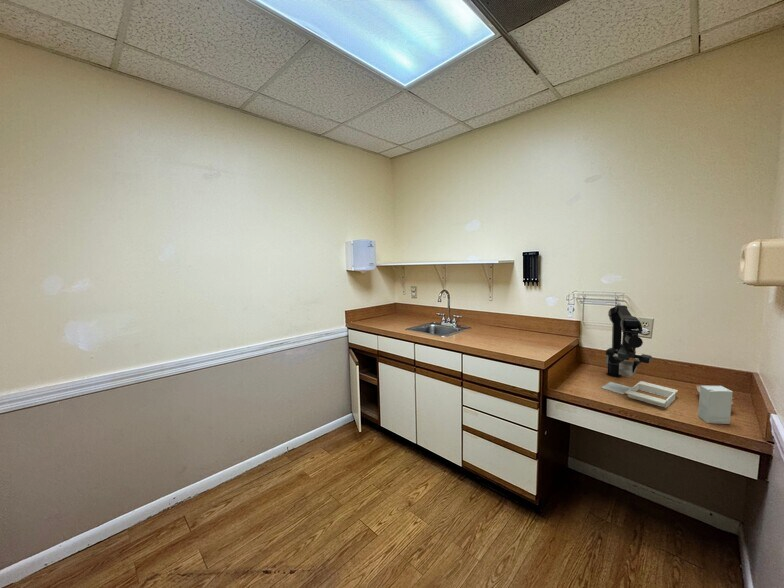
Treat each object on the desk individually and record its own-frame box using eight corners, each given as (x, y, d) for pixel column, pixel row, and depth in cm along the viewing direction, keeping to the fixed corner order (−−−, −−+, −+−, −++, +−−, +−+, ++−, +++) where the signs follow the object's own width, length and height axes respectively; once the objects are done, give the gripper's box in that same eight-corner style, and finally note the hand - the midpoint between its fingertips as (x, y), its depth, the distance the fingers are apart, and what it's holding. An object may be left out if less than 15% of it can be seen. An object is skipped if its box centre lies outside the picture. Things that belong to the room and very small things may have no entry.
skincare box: (718, 417, 137) (721, 385, 135) (730, 425, 131) (734, 391, 129) (696, 416, 139) (699, 384, 137) (707, 423, 133) (710, 390, 131)
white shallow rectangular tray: (624, 399, 157) (624, 392, 156) (640, 387, 170) (640, 380, 169) (663, 410, 144) (664, 403, 144) (677, 396, 157) (678, 390, 157)
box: (618, 374, 164) (619, 363, 163) (624, 369, 169) (625, 359, 168) (630, 377, 160) (630, 365, 159) (636, 372, 165) (636, 361, 164)
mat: (601, 388, 170) (601, 387, 170) (610, 382, 177) (610, 381, 177) (622, 394, 162) (622, 393, 162) (631, 388, 169) (631, 387, 168)
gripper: (602, 341, 164) (600, 369, 167) (646, 349, 150) (644, 380, 152) (610, 337, 171) (608, 364, 173) (653, 344, 156) (651, 374, 158)
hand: (627, 371), depth 164 cm, fingers closed on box, 5 cm apart
